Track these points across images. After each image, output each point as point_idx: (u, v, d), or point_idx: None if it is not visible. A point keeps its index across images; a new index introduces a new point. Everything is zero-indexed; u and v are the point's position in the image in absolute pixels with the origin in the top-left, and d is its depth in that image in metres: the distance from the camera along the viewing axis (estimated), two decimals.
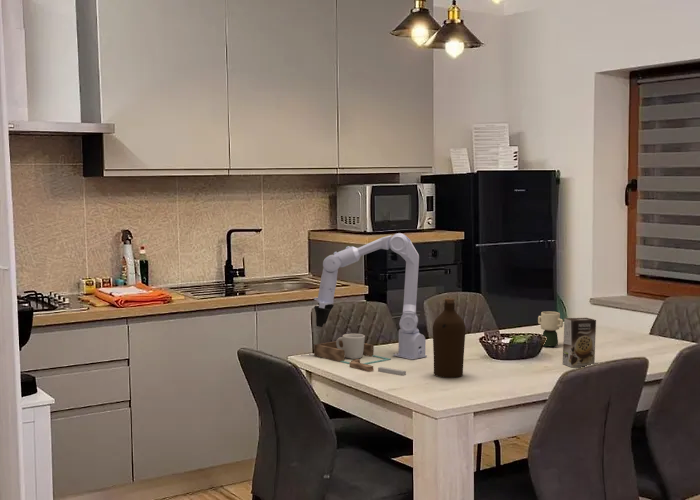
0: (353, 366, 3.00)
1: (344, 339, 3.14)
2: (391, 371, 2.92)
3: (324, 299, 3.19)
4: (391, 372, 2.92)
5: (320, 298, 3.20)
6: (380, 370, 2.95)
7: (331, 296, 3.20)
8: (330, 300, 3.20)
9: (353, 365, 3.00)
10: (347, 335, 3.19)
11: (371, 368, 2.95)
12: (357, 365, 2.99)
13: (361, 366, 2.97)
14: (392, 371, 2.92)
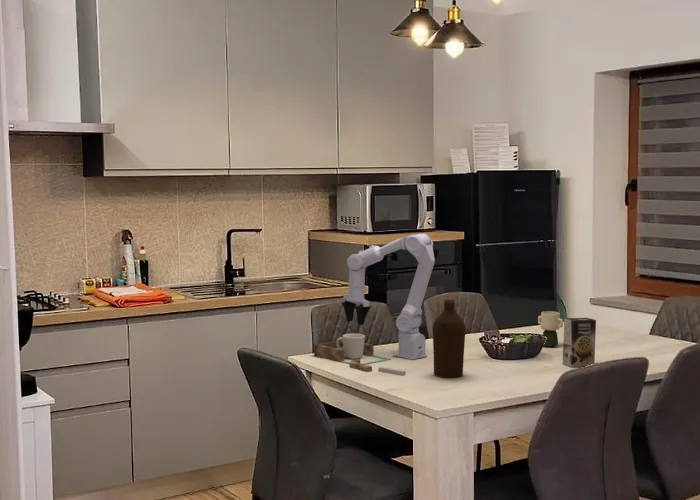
0: (353, 366, 3.00)
1: (344, 339, 3.14)
2: (391, 371, 2.92)
3: (360, 297, 3.26)
4: (391, 372, 2.92)
5: (356, 297, 3.25)
6: (380, 370, 2.95)
7: (363, 293, 3.28)
8: (363, 297, 3.28)
9: (353, 365, 3.00)
10: (347, 335, 3.19)
11: (369, 368, 2.94)
12: (356, 365, 2.99)
13: (360, 366, 2.97)
14: (392, 371, 2.92)
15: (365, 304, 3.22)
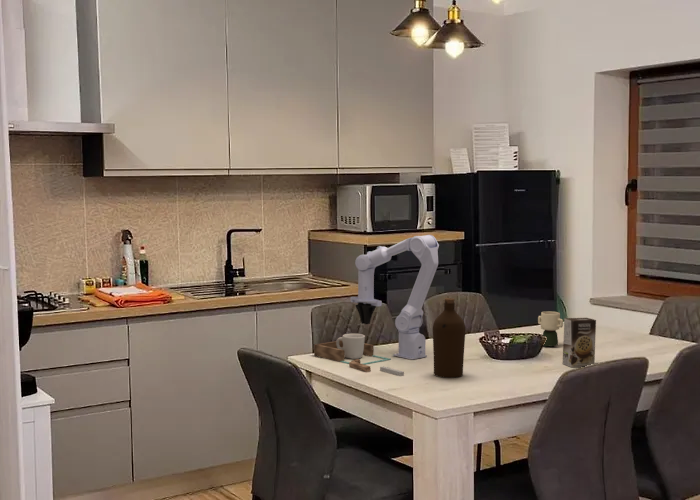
0: (352, 366, 3.00)
1: (344, 339, 3.14)
2: (390, 371, 2.92)
3: (371, 298, 3.27)
4: (390, 372, 2.92)
5: (367, 298, 3.26)
6: (382, 369, 2.95)
7: (373, 293, 3.29)
8: (373, 297, 3.29)
9: (352, 365, 3.00)
10: (347, 335, 3.19)
11: (368, 368, 2.94)
12: (355, 365, 2.98)
13: (359, 366, 2.97)
14: (391, 371, 2.92)
15: (378, 304, 3.23)
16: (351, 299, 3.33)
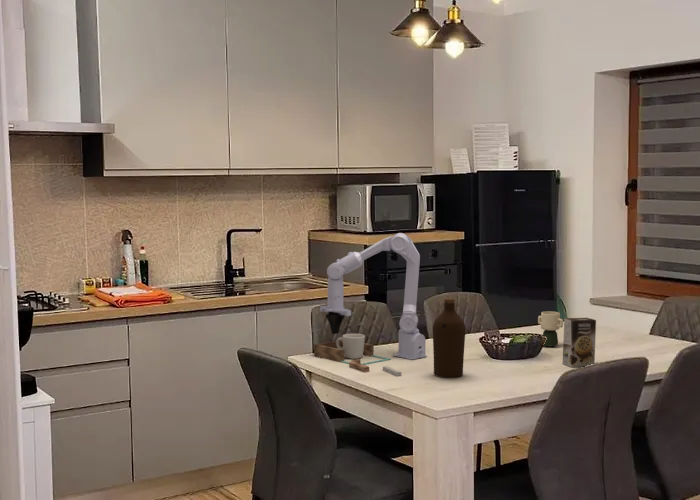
0: (352, 366, 3.00)
1: (344, 339, 3.14)
2: (390, 371, 2.92)
3: (340, 307, 3.20)
4: (390, 372, 2.92)
5: (336, 307, 3.19)
6: (383, 369, 2.96)
7: None
8: None
9: (352, 365, 3.00)
10: (347, 335, 3.19)
11: (367, 369, 2.94)
12: (355, 365, 2.98)
13: (358, 366, 2.97)
14: (390, 371, 2.92)
15: (348, 313, 3.16)
16: (321, 308, 3.26)
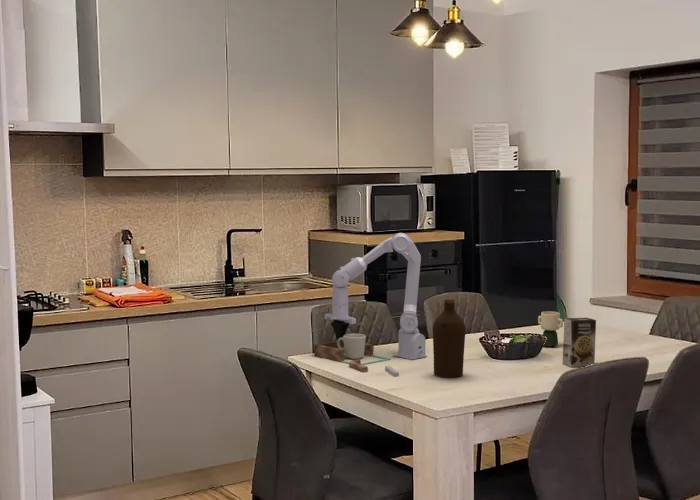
0: (351, 366, 3.00)
1: (345, 339, 3.14)
2: (389, 371, 2.92)
3: (345, 315, 3.18)
4: (389, 372, 2.92)
5: (341, 315, 3.17)
6: (385, 369, 2.96)
7: None
8: None
9: (351, 365, 3.00)
10: (348, 335, 3.18)
11: (365, 369, 2.94)
12: (354, 365, 2.98)
13: (357, 366, 2.97)
14: (390, 371, 2.92)
15: (352, 321, 3.15)
16: (325, 316, 3.24)
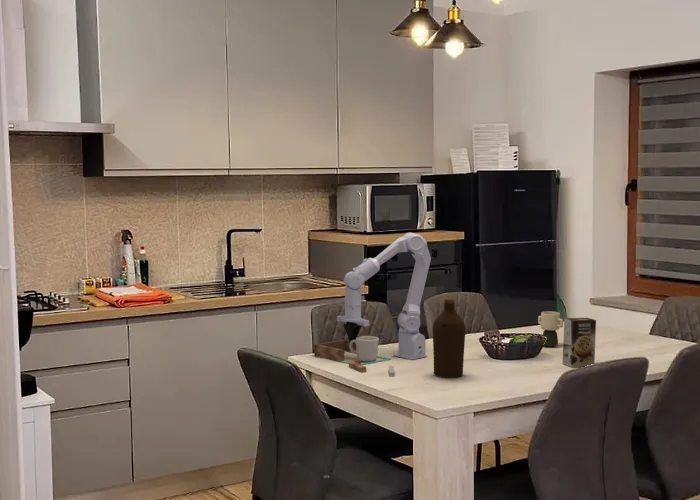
0: (351, 366, 3.00)
1: (358, 342, 3.09)
2: (389, 371, 2.92)
3: (358, 317, 3.13)
4: (389, 372, 2.92)
5: (354, 317, 3.12)
6: None
7: (360, 312, 3.15)
8: (360, 316, 3.15)
9: (351, 365, 3.00)
10: (360, 337, 3.14)
11: (363, 369, 2.93)
12: (353, 365, 2.98)
13: (356, 366, 2.97)
14: (389, 371, 2.92)
15: (366, 324, 3.10)
16: (338, 318, 3.19)
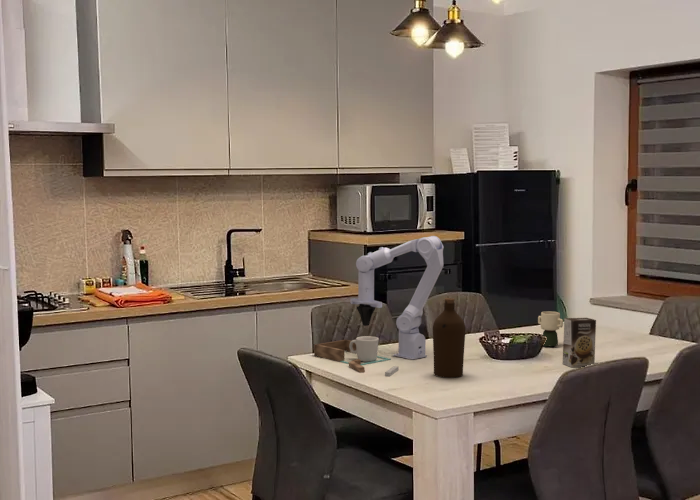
0: (350, 366, 3.00)
1: (358, 342, 3.09)
2: None
3: (371, 299, 3.23)
4: None
5: (367, 299, 3.23)
6: None
7: (373, 295, 3.25)
8: (373, 299, 3.25)
9: (350, 365, 3.00)
10: (360, 338, 3.14)
11: (362, 369, 2.93)
12: (353, 365, 2.98)
13: (355, 366, 2.97)
14: None
15: (379, 305, 3.20)
16: (351, 301, 3.29)
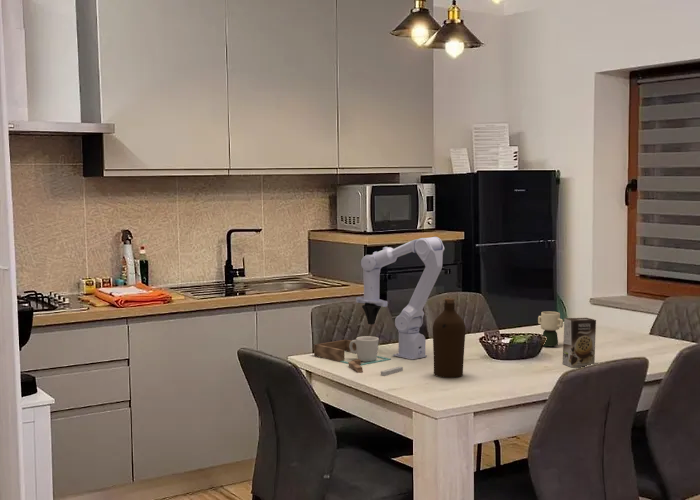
0: (350, 366, 3.00)
1: (358, 342, 3.09)
2: None
3: (377, 298, 3.26)
4: None
5: (373, 298, 3.25)
6: None
7: None
8: None
9: (350, 365, 3.00)
10: (360, 338, 3.14)
11: (360, 369, 2.93)
12: (352, 365, 2.98)
13: (354, 366, 2.97)
14: None
15: (384, 304, 3.22)
16: (357, 299, 3.32)
